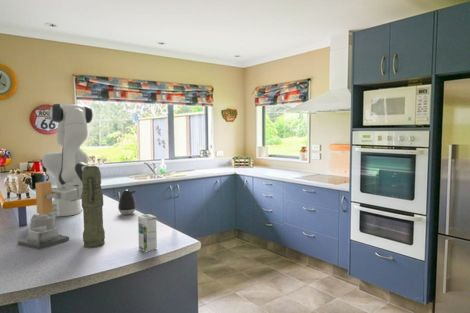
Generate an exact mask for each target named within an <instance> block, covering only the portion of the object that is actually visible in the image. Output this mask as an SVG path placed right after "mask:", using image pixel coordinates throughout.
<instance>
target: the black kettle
mask: <svg viewBox="0 0 470 313" xmlns="http://www.w3.org/2000/svg"><path fill="white" fill-rule="evenodd" d="M134 193H136V190H132V191H131V190H130V189H124V190H122V191H121V193H120V197H119V200H118V205H117V206H118V211H119V213H120V214H121V215H122V216H130V215H132V214H134V212H135V211H136V208H137V206H136V205H137V204H136V200H135V197H134V195H133V194H134ZM129 214H130V215H129Z"/></svg>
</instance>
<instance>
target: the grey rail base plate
mask: <svg viewBox="0 0 470 313" xmlns="http://www.w3.org/2000/svg"><path fill="white" fill-rule="evenodd" d="M58 230H59V228H58V227H56V228H55V229H51V230H47V228H46V226H42V227H39V228H35V229H31V228H30V229H27V230H26V238H22V239H20V240H17V245H19V246H24V247H28V248H32V249H36V250H43V249H45V248H49V247H51V246H55V245H58V244H61V243H64V242H67V241H70V236H66V235H62V234H59V231H58Z"/></svg>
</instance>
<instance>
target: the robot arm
mask: <svg viewBox="0 0 470 313" xmlns="http://www.w3.org/2000/svg"><path fill="white" fill-rule="evenodd" d="M49 116H50V120H51V121H52V122H54V123H57V131H56V132H57V135H56V141H57V143H58V144H59V145H60V146H61V147H62V150H61V151H51V152H47V153H45V154H44V155H43V157H42V159H41V164H42V166H43V167H44V168H45V169H46V170H47V171H49V172H50V173H51V174H52V175H53V176H54V178H55V182H56V187H51V190H52V194H48V195H45V198H46V199H50V198H52V208H53V212H52V213H54V215H55V218H57V217H58V218H59V217H68V216H73V215H74V216H76V215H78V214H81V212H83V208H82V205H81V200H82V199H81V194H82V191H83V185H82V172H83V169H84V167H86V166H90V165H89V164H88V163H89V156H88V155H87V153H86V152H85V151H84V150H82V148H81V146H82V145H83V144H84V142H86V140H87V137H88V124H90V123H91V122H92V120H93V117H94V113H93V110H92V108H91V107H90V106H88V105H80V104H76V103H75V104H74V103H70V104H69V103H66V104H65V103H62V104H60V103H53V104H52V105H51V107H50V109H49Z"/></svg>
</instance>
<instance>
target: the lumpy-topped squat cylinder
mask: <svg viewBox="0 0 470 313" xmlns="http://www.w3.org/2000/svg"><path fill="white" fill-rule="evenodd" d="M42 226H46V228H47V230H51V229H55V228H57V227H56V217H55V215H54V213H47V214H37V213H36V214H33V215H32V216H31V218H30V230H31V229H35V228H39V227H42Z"/></svg>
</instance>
